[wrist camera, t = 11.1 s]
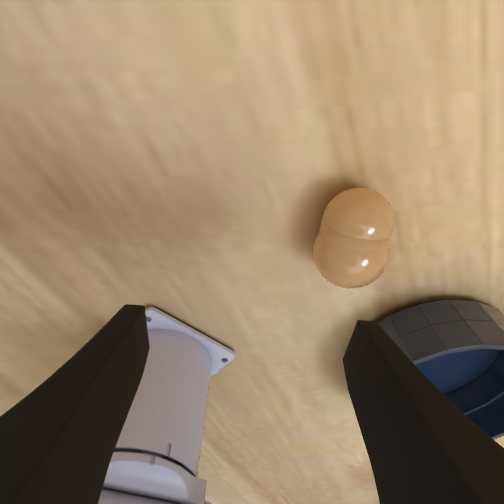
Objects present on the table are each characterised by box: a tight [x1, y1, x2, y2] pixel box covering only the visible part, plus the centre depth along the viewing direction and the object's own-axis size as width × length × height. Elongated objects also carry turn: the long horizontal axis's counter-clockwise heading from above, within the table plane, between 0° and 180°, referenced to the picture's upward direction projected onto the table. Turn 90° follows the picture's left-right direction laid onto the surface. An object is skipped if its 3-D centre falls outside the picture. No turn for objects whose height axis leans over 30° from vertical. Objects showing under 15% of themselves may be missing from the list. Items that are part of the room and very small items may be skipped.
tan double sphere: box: [313, 188, 394, 288], centre depth 17 cm, size 6×4×4 cm
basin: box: [377, 300, 504, 440], centre depth 24 cm, size 13×13×4 cm
